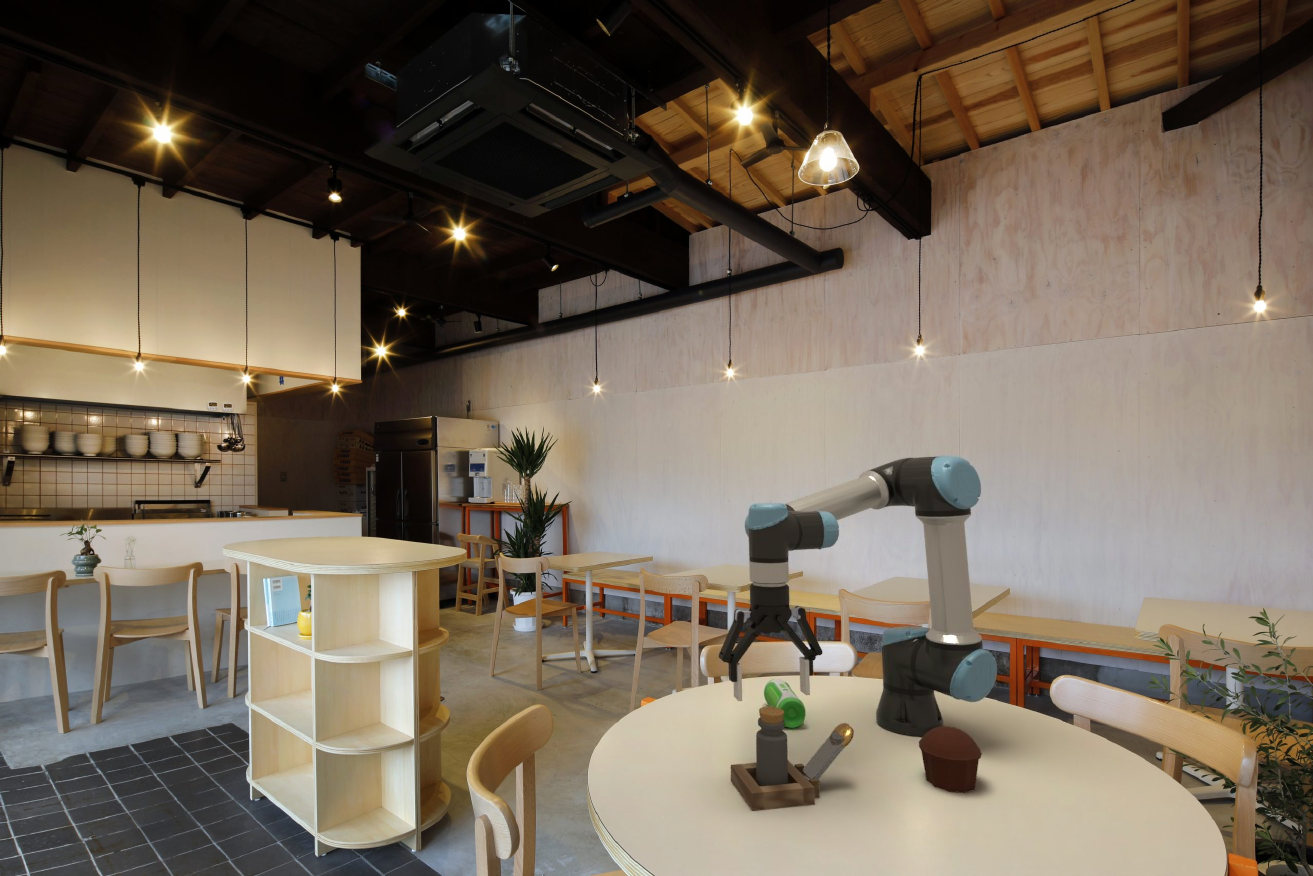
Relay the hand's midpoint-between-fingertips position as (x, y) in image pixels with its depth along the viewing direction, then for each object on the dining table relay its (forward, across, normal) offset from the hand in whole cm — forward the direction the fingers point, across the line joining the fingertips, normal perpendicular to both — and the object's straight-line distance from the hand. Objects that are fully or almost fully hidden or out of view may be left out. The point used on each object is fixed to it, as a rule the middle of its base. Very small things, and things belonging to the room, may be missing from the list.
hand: (771, 696), depth 123 cm
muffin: (+18, -35, +3) cm, 40 cm away
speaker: (+18, -18, -37) cm, 45 cm away
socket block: (+18, +1, 0) cm, 18 cm away
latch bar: (+12, -11, 0) cm, 17 cm away
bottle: (+18, 0, 0) cm, 18 cm away
